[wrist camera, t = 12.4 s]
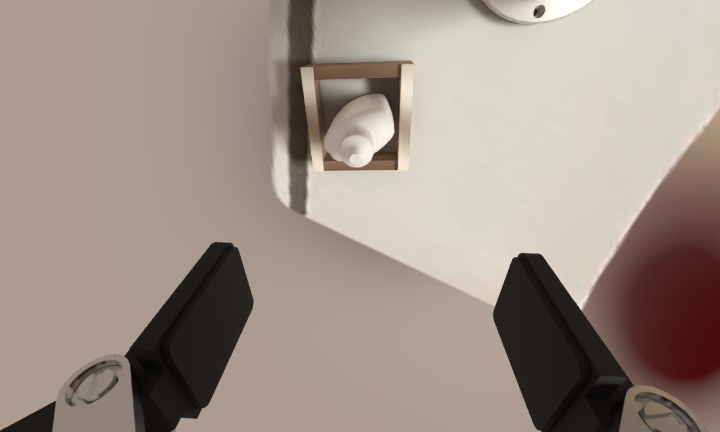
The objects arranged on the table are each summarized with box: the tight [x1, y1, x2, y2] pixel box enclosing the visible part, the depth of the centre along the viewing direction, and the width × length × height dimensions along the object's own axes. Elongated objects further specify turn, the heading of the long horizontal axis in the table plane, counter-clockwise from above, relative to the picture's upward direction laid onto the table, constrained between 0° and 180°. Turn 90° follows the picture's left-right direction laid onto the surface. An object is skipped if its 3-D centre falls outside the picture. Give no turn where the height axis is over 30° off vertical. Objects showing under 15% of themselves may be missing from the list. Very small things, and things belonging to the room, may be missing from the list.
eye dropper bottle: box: [325, 93, 394, 168], centre depth 24 cm, size 4×6×12 cm
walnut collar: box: [300, 61, 414, 172], centre depth 28 cm, size 10×10×3 cm
